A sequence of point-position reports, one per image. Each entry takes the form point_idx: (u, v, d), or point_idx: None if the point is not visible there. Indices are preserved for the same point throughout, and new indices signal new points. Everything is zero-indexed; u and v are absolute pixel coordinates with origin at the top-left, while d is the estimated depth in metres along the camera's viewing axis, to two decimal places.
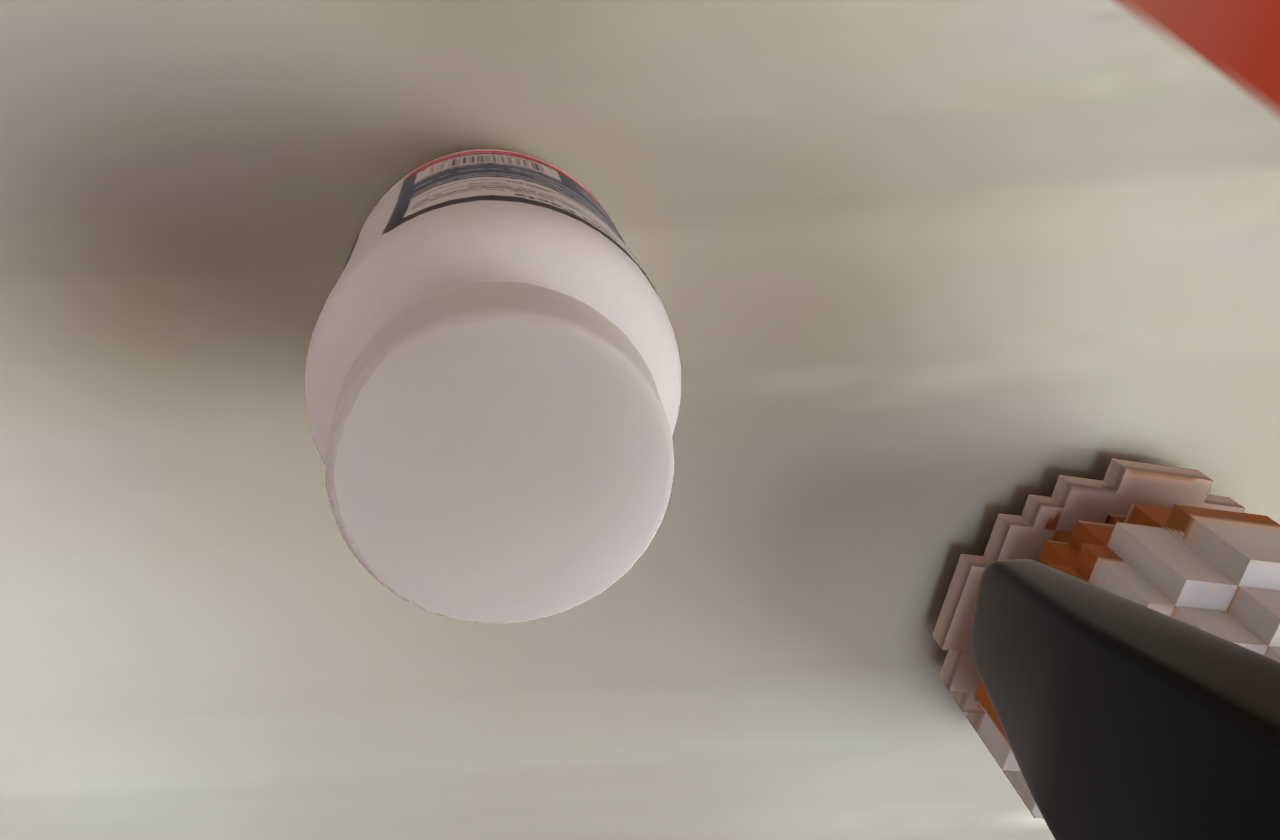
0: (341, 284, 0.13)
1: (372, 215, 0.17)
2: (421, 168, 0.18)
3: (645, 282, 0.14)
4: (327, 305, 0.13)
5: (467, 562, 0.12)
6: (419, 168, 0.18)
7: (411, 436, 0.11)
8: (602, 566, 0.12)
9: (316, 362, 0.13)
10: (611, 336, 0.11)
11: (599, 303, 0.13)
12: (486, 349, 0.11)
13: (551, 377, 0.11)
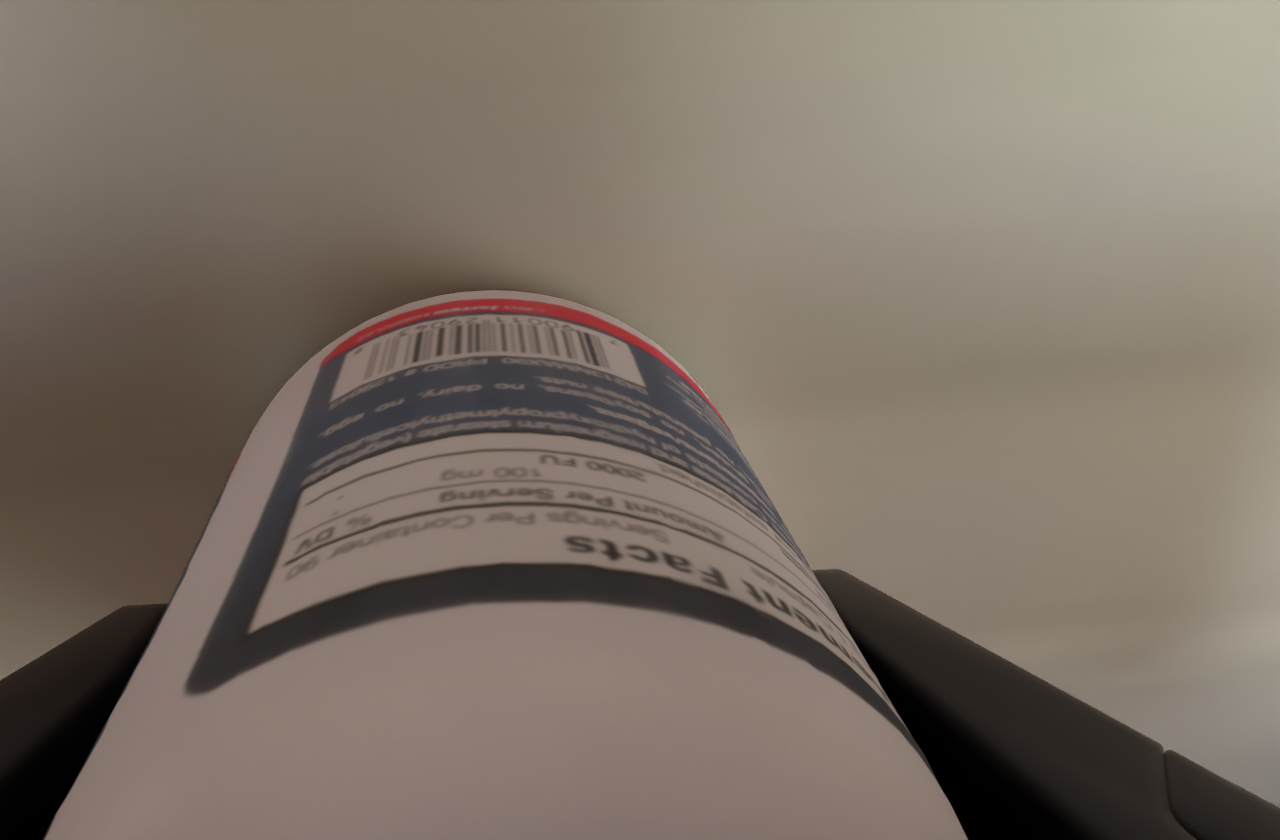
0: None
1: (252, 445, 0.08)
2: (356, 340, 0.09)
3: (938, 808, 0.05)
4: None
5: None
6: (353, 338, 0.09)
7: None
8: None
9: None
10: None
11: None
12: None
13: None
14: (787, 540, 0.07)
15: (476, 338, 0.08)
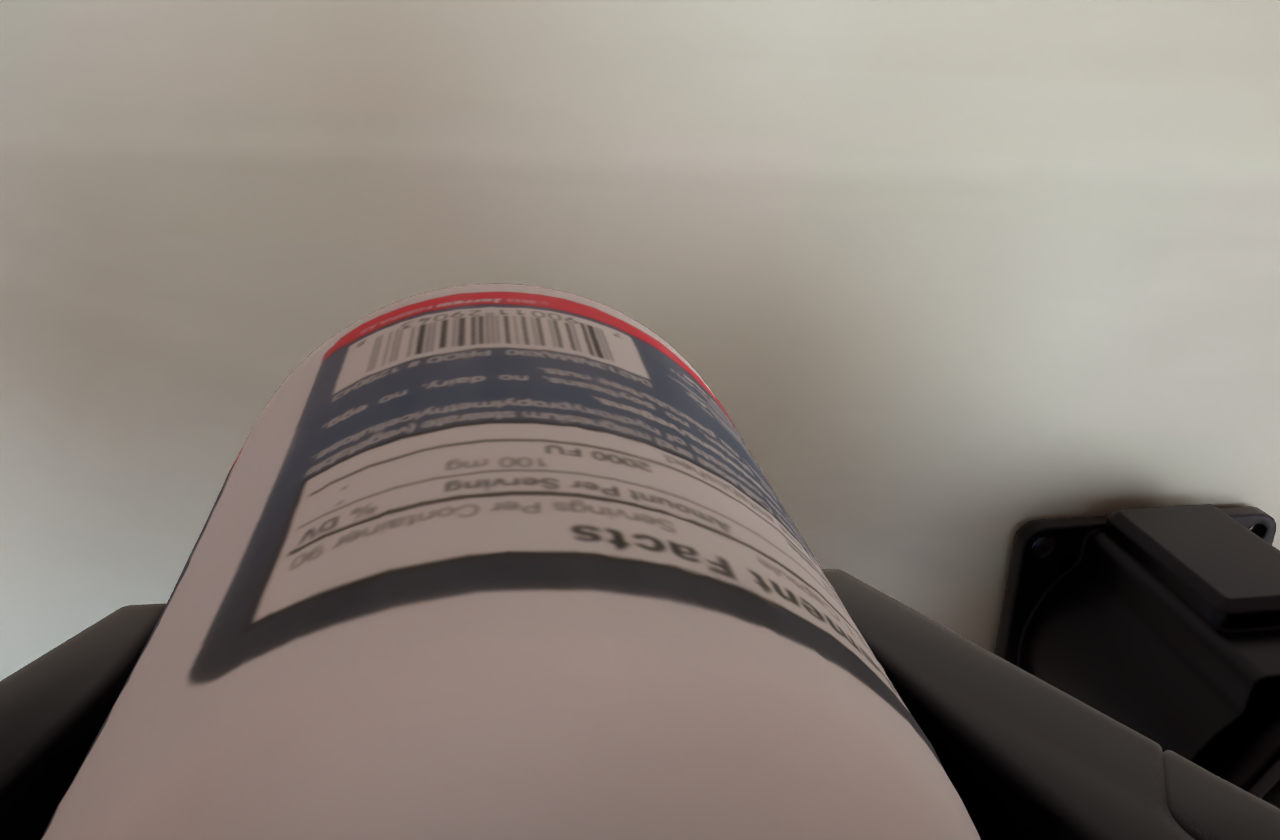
0: None
1: (255, 438, 0.08)
2: (359, 333, 0.09)
3: (947, 798, 0.05)
4: None
5: None
6: (355, 331, 0.09)
7: None
8: None
9: None
10: None
11: None
12: None
13: None
14: (792, 532, 0.07)
15: (479, 330, 0.08)
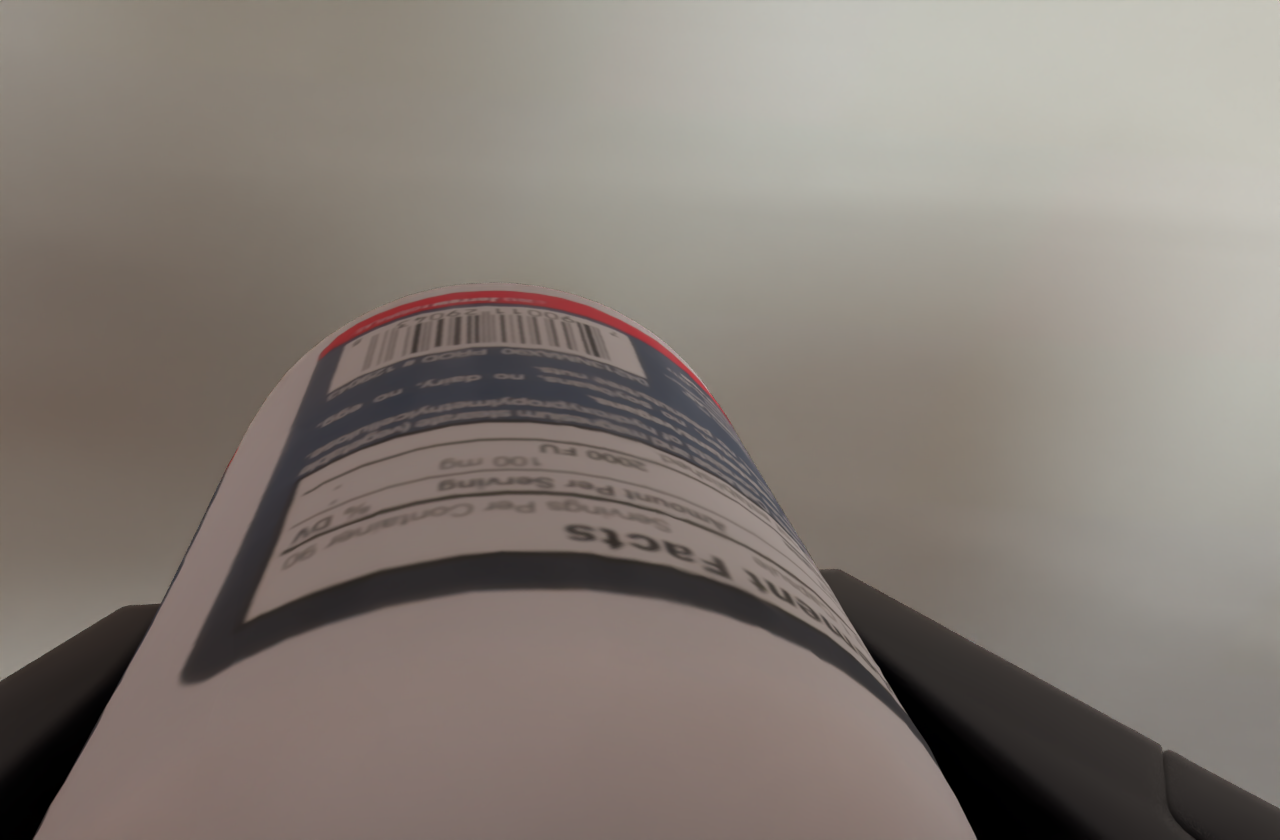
0: None
1: (250, 437, 0.08)
2: (354, 332, 0.09)
3: (944, 799, 0.05)
4: None
5: None
6: (351, 330, 0.09)
7: None
8: None
9: None
10: None
11: None
12: None
13: None
14: (789, 532, 0.07)
15: (475, 329, 0.08)
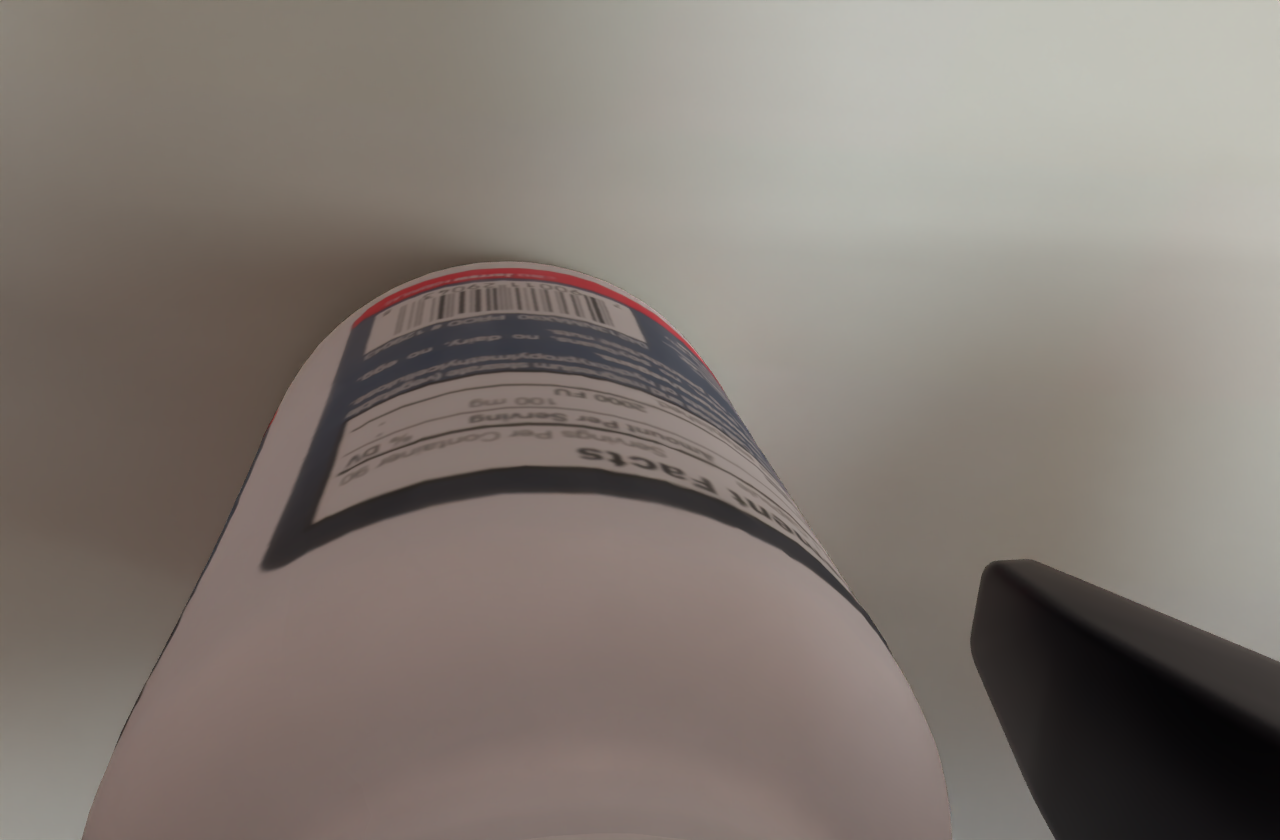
0: (146, 723, 0.05)
1: (291, 397, 0.09)
2: (384, 304, 0.10)
3: (892, 672, 0.06)
4: (114, 768, 0.05)
5: None
6: (380, 303, 0.10)
7: None
8: None
9: None
10: None
11: (803, 773, 0.05)
12: None
13: None
14: (771, 473, 0.08)
15: (493, 299, 0.09)
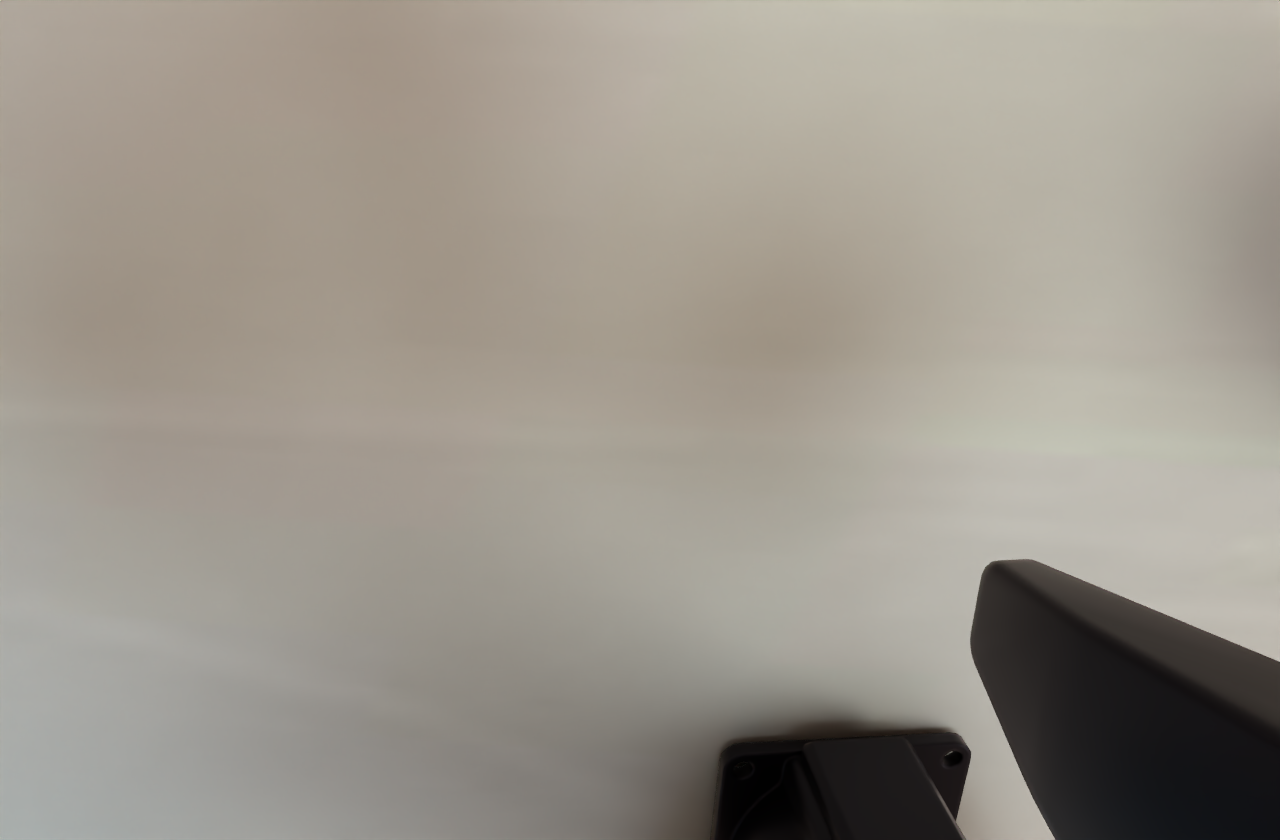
0: None
1: None
2: None
3: None
4: None
5: None
6: None
7: None
8: None
9: None
10: None
11: None
12: None
13: None
14: None
15: None
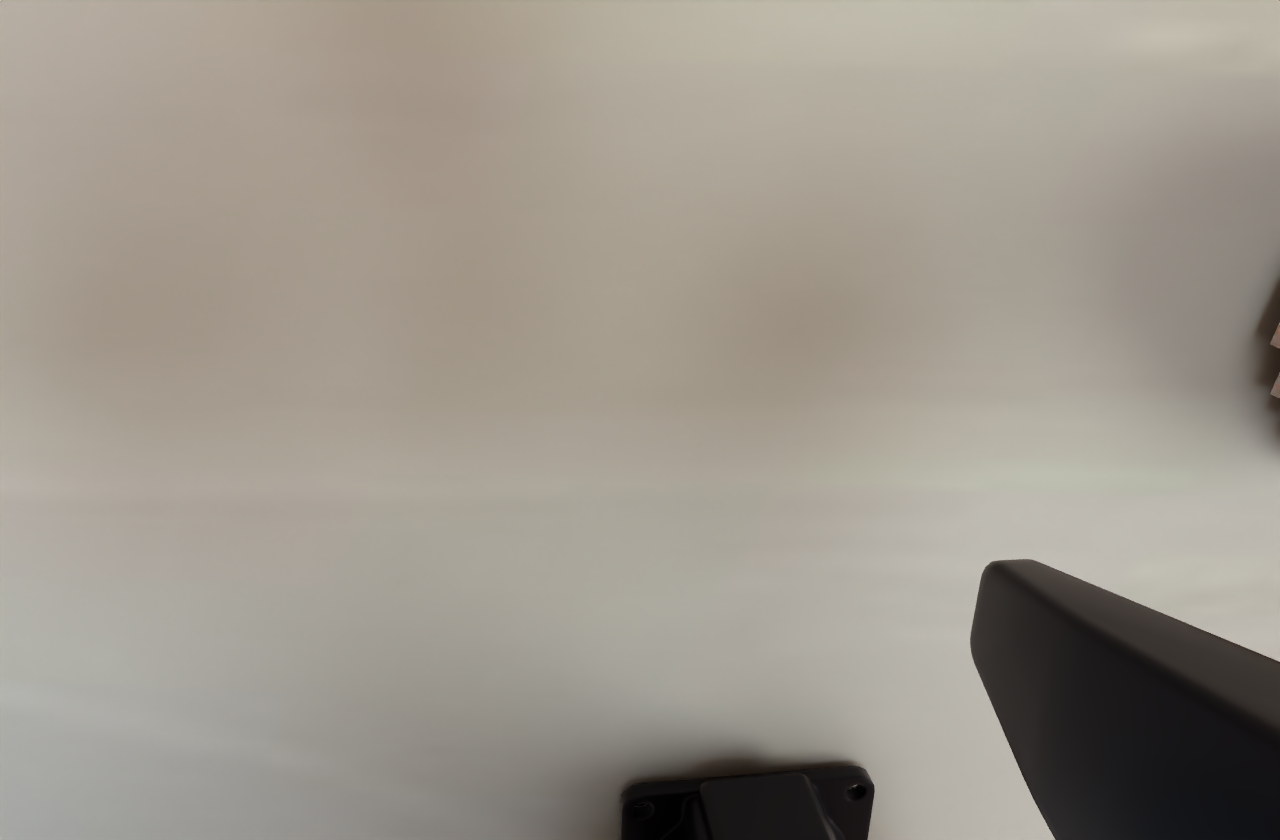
0: None
1: None
2: None
3: None
4: None
5: None
6: None
7: None
8: None
9: None
10: None
11: None
12: None
13: None
14: None
15: None
